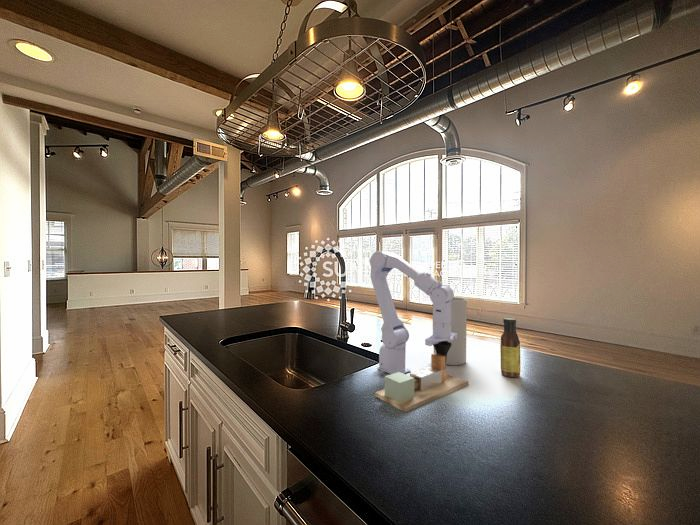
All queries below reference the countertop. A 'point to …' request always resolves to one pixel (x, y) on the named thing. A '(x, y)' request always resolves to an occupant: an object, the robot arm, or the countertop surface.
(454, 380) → the base board
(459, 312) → the cylinder vase
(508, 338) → the sauce bottle
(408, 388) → the pale green block
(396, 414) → the countertop surface
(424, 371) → the metal sleeve
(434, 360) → the brown piece
